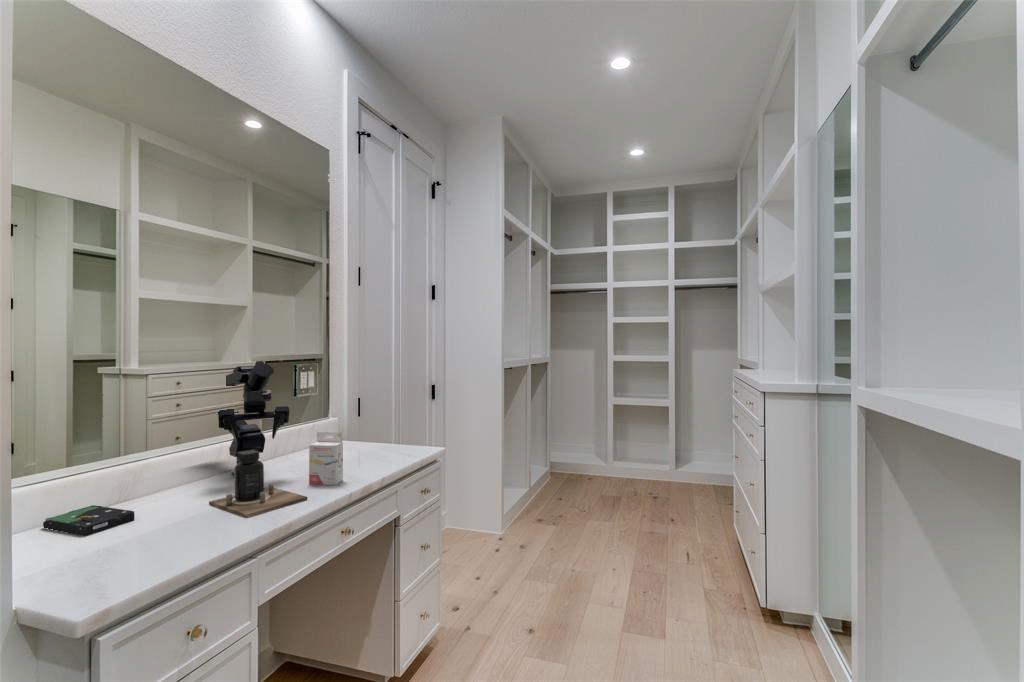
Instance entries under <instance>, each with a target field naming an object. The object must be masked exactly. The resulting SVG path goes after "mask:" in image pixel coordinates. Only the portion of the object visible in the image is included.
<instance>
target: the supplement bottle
mask: <svg viewBox="0 0 1024 682" xmlns="http://www.w3.org/2000/svg"><path fill="white" fill-rule="evenodd" d="M238 458H239V459H238V461H239V463H238V464H237V463H236V464H235V466H234V469H233V470H234V471H233V472H234V474H233V475H234V495H235V500H236V501H238V502H248V501H254V500H257V499H260V493H261V492H264V487H265V470H264V469H265V467H264V463H263V462H262V461H261V460H259V459H260V453H259V451H246V452H241V453H239V454H238Z"/></svg>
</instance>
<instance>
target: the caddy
mask: <svg viewBox="0 0 1024 682" xmlns="http://www.w3.org/2000/svg"><path fill="white" fill-rule="evenodd" d="M274 485H275V484H274V483H269V484H268V486H264V492H261V493H260V499H257V500H254V501H248V502H238V501H236V500H235V494H234V495H233V494H232V493H229V494H226V495H225V497H222V498H218V499H215V500H210V501H208V505H209V506H212V507H214V508H218V509H220V510H223V511H226V512H228V513H231V514H234V515H237V516H240V517H243V518H246V519H247V518H251V517H255V516H257V515H260V514H261V515H262V514H264V513H267V512H271V511H274V510H278V509H280V508H281V509H282V508H284V507H287V506H291V505H294V504H298V503H300V502H304V501H308V496H306V495H303V494H298V493H295V492H291V491H288V490H284V489H281V488H277V487H275V486H274Z"/></svg>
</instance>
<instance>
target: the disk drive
mask: <svg viewBox="0 0 1024 682" xmlns="http://www.w3.org/2000/svg"><path fill="white" fill-rule="evenodd" d="M133 521H135V511H133V510H130V509H121V508H116V507H115V508H114V507H109V506H103V505H102V506H101V505H89V506H85V507H82V508H78V509H76V510H75V509H74V510H71V511H68V512H66V513H62V514H59V515H55V516H52V517H51V516H50V517H45V520H44V521H43V523H42V526H43V527H44V528H48V529H53V530H52V531H54V530H58V531H57V532H60V531H63V532H62V533H65V532H67V533H66V534H72V535H76V536H81V537H88V536H91V535H95V534H98V533H100V532H103V531H106V530H109V529H112V528H115V527H119V526H122V525H125V524H127V523H128V524H129V523H132V522H133ZM48 529H47V530H48Z"/></svg>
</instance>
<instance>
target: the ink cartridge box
mask: <svg viewBox="0 0 1024 682" xmlns="http://www.w3.org/2000/svg"><path fill="white" fill-rule="evenodd" d="M327 436H332V437H327ZM308 446H309V447H308V449H309V452H308V453H309V460H308V484H309V485H330V486H331V485H332V486H336V485H338V484H340V483H341V482H343V480H344V456H343V455H344V442H343V433H342V432H339V431H337V432H336V431H316V441H315V442H313V443H310V444H309V445H308Z"/></svg>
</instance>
